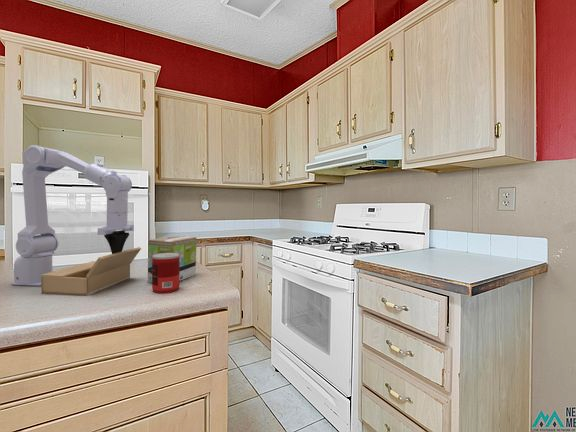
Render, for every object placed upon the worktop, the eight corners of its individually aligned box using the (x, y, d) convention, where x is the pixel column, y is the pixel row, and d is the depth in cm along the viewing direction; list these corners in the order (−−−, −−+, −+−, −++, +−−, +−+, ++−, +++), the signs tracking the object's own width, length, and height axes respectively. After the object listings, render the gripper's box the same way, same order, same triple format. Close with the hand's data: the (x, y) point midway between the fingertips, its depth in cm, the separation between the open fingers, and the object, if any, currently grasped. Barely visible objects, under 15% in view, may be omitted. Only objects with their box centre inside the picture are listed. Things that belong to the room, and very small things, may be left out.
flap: (98, 257, 83) (100, 259, 83) (139, 247, 103) (141, 248, 103) (85, 276, 84) (87, 277, 84) (128, 262, 103) (130, 263, 103)
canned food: (184, 287, 94) (184, 253, 93) (166, 294, 86) (166, 258, 86) (165, 285, 96) (165, 251, 96) (146, 291, 89) (146, 255, 88)
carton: (41, 293, 85) (41, 274, 85) (92, 276, 105) (92, 261, 105) (86, 295, 84) (86, 276, 84) (129, 278, 104) (129, 262, 103)
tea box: (173, 285, 96) (173, 240, 96) (146, 283, 98) (146, 239, 98) (196, 274, 111) (197, 236, 110) (172, 272, 113) (173, 234, 112)
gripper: (113, 214, 85) (113, 260, 86) (142, 212, 99) (141, 252, 100) (91, 213, 86) (90, 259, 86) (122, 211, 100) (122, 251, 101)
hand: (116, 255), depth 93 cm, fingers closed, pressing on flap
